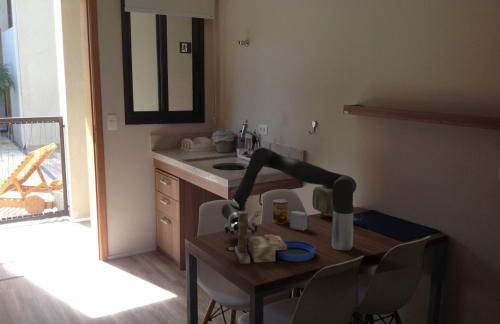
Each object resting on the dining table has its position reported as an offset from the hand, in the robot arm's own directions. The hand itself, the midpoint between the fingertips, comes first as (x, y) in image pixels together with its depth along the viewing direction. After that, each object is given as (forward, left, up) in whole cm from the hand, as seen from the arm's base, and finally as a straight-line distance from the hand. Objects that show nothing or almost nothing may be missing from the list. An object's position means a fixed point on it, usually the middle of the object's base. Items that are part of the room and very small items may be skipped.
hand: (243, 232), depth 191 cm
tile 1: (-12, -5, -5) cm, 14 cm away
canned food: (+5, -58, -12) cm, 59 cm away
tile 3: (-7, -12, -5) cm, 15 cm away
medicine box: (-8, -51, -12) cm, 53 cm away
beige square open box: (-8, -8, -12) cm, 16 cm away
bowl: (-18, -15, -12) cm, 26 cm away
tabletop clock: (-15, -78, -12) cm, 80 cm away
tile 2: (-11, -9, -5) cm, 15 cm away
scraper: (+1, -1, -12) cm, 12 cm away
